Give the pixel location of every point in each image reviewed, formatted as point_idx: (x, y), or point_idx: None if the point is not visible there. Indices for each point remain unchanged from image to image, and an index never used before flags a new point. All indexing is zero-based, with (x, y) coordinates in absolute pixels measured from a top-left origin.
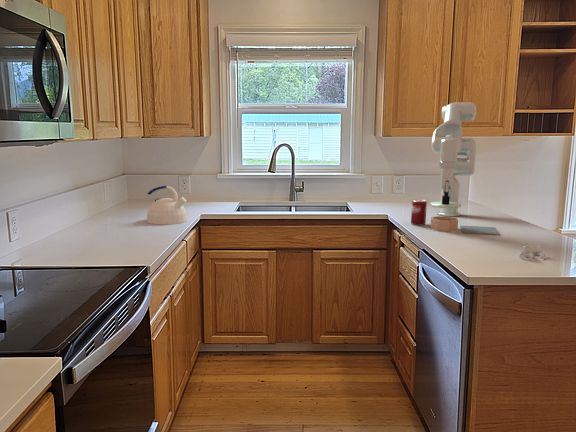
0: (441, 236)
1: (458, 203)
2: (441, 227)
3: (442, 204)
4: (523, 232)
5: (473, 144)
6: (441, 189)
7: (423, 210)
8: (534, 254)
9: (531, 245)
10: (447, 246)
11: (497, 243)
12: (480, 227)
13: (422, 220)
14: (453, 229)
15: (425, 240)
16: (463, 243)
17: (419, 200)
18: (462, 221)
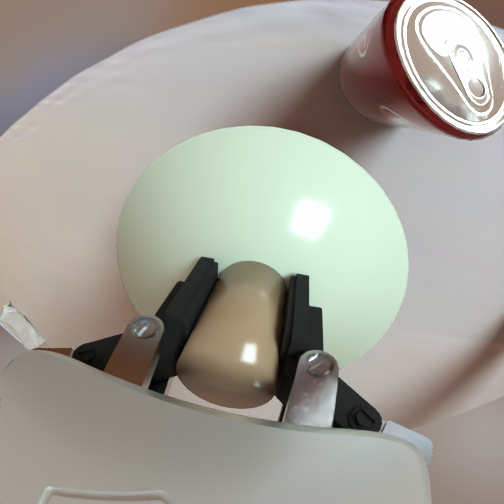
0: (87, 170)
1: None
2: None
3: (206, 256)
4: (250, 416)
5: None
6: (46, 351)
7: (369, 88)
8: (38, 335)
9: (21, 338)
10: (3, 184)
11: (79, 318)
12: None
13: (348, 91)
14: None
15: (29, 117)
16: (37, 232)
17: (478, 66)
18: (441, 322)
